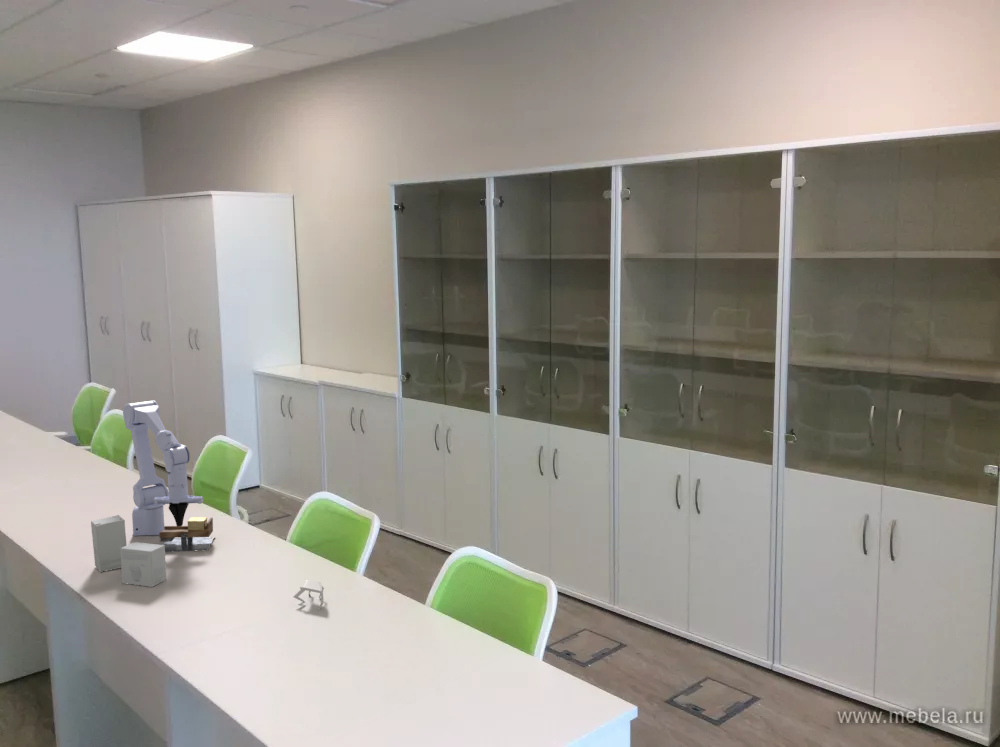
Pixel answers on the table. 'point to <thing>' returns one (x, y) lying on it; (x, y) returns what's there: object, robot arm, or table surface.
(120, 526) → the skincare box
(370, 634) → the table surface
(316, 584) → the origami figure
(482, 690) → the table surface
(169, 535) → the balance beam
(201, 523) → the block
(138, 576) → the skincare box
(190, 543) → the pivot stand
